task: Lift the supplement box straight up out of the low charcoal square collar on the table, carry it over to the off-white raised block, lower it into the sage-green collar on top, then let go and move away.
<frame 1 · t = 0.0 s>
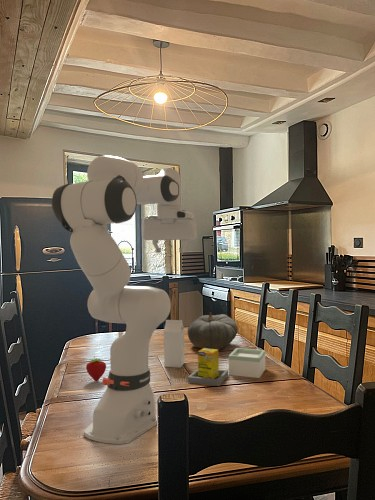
hand: (170, 252, 146), 48 cm above the table, fingers open, 8 cm apart
supplement box: (208, 379, 151), resting in socket stand
strawberry: (96, 381, 150), on the table
socket stand: (228, 375, 155), on the table
gourd: (212, 347, 199), on the table
milk carton: (174, 365, 169), on the table
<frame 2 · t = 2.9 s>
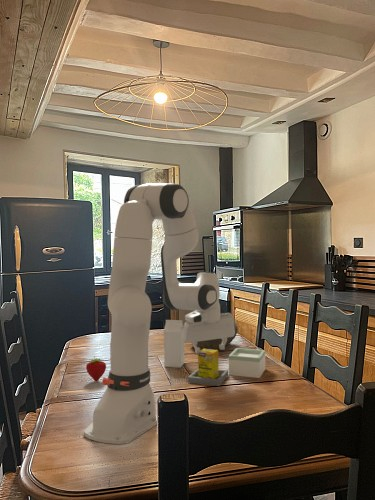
hand: (210, 351, 151), 10 cm above the table, fingers open, 8 cm apart
supplement box: (208, 380, 151), resting in socket stand, touching gripper
everything else where it was.
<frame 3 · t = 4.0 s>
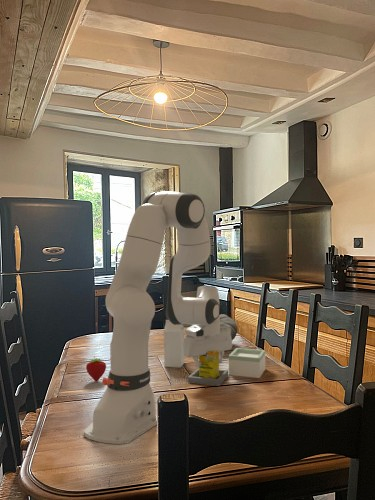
hand: (208, 364, 151), 5 cm above the table, fingers closed on supplement box, 8 cm apart
supplement box: (209, 379, 151), resting in socket stand, touching gripper
everything else where it was.
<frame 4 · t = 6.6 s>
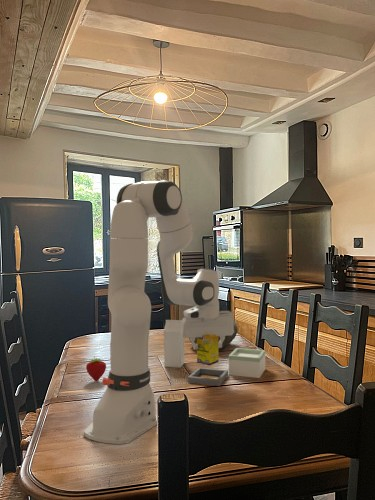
hand: (207, 348, 151), 12 cm above the table, fingers closed on supplement box, 8 cm apart
supplement box: (207, 363, 151), point 6 cm above the table, touching gripper
everything else where it was.
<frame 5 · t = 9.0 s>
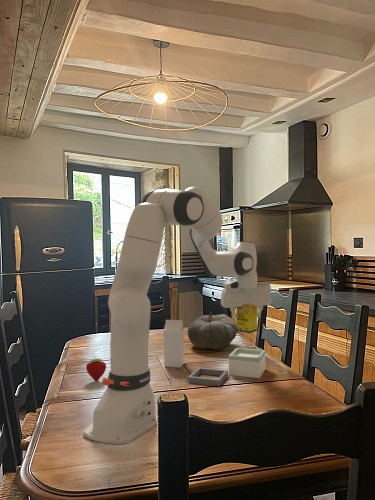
hand: (246, 317, 158), 22 cm above the table, fingers closed on supplement box, 8 cm apart
supplement box: (247, 331, 158), point 16 cm above the table, touching gripper
everything else where it was.
when the fingers open (12 cm above the table, at t = 12.3 s): supplement box stays where it is, resting on socket stand.
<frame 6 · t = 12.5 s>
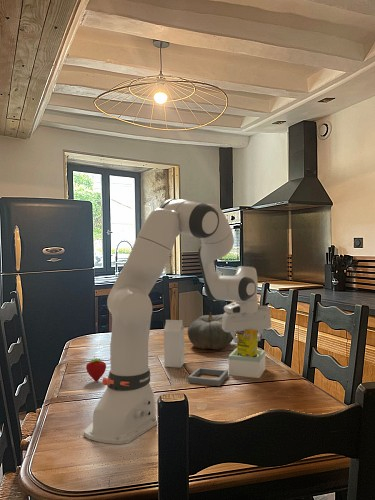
hand: (247, 341, 159), 12 cm above the table, fingers open, 8 cm apart
supplement box: (247, 357, 158), point 6 cm above the table, touching gripper, socket stand
everything else where it was.
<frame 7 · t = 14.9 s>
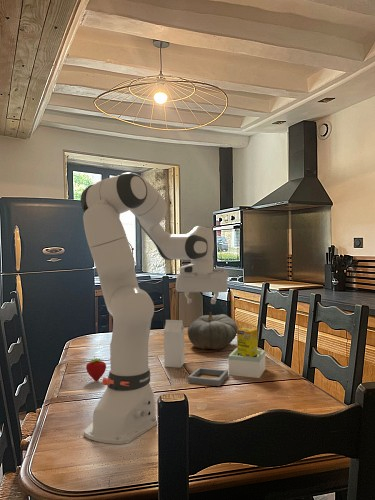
hand: (201, 303, 155), 28 cm above the table, fingers open, 8 cm apart
supplement box: (247, 357, 158), point 6 cm above the table, touching socket stand
everything else where it was.
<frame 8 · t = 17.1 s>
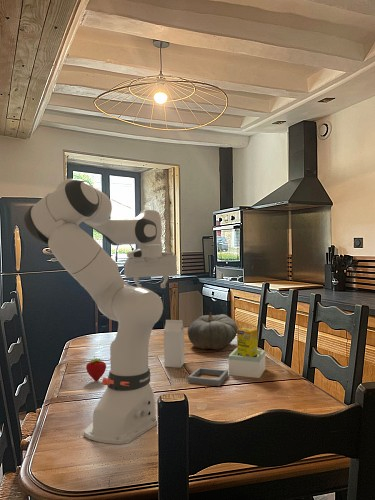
hand: (151, 288, 153), 34 cm above the table, fingers open, 8 cm apart
nothing on the table moved.
at the end: supplement box 0.2 cm from the target spot on the socket stand, point 5.8 cm above the socket stand's base; supplement box tilted 0°; the gripper is holding nothing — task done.
